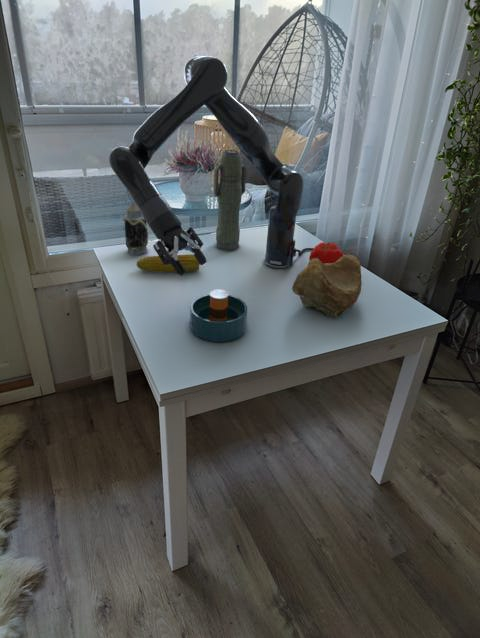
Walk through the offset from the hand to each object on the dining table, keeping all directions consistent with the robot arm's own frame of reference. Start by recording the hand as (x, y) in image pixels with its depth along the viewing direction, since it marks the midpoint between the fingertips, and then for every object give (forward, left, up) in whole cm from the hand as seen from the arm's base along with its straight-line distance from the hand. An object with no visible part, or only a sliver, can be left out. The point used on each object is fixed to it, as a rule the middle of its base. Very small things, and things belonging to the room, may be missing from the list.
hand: (194, 268), depth 118 cm
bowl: (-6, +6, -15) cm, 17 cm away
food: (+3, -30, -15) cm, 34 cm away
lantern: (+11, -49, -15) cm, 52 cm away
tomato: (-52, -23, -15) cm, 58 cm away
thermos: (-22, -49, -15) cm, 56 cm away
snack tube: (-5, +6, -15) cm, 17 cm away
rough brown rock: (-42, +2, -15) cm, 44 cm away
